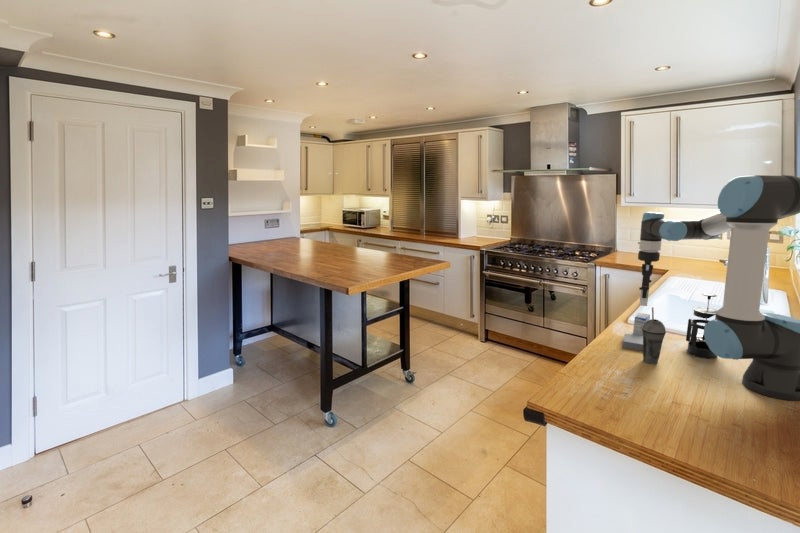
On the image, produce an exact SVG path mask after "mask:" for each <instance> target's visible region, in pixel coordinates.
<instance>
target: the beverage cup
mask: <svg viewBox="0 0 800 533" xmlns="http://www.w3.org/2000/svg"><path fill="white" fill-rule="evenodd" d="M654 317H655V316H654V307H651V318H650V320H648V321H647V322H646V323H645V324H644V325H643V328H642V333H643V351H642V361H643V362H644V363H646V364H650V365H657V364H658V362H659V359H660V354H661V350H662V347H663V342H664V339H665V335H666V333H667V332H666V331H667V330H666V326H665V324H664V323H663V322H662V321H661V320H659V319H656V318H654Z"/></svg>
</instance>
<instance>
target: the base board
mask: <svg viewBox="0 0 800 533" xmlns="http://www.w3.org/2000/svg"><path fill="white" fill-rule="evenodd" d="M622 348H623V349H629V350H634V351H642V352H643V336H637V335H633V334H631V333H624V337H623V340H622Z"/></svg>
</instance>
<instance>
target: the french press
mask: <svg viewBox="0 0 800 533" xmlns="http://www.w3.org/2000/svg"><path fill="white" fill-rule="evenodd" d="M702 296H704V297H707V306H706V307H705V306H696V307H693V308H692V310H693V315H694V316H695V317H697V319H695V318H688V321H687V328H686V329H687V330H686V336H685V340H686V342H688V343H687V349H686V353H687V354H689V355H691V356H693V357H696V358H702V359H709V360H710V359H717V357H718V356H717V355H715V354H714V353H713V352H712V351H711V350H710V348H709V346H708V345H707V343H706V341H705V337H704V333H698V332H699V329H700V330H703V331H704V328H705V325H706V324H708V322H709V321H710V320H708V319H710V318H712V317H715V316H716V311H717V310H718V309H717V308H713V307H709V306H710V300H711V298H715V297H717V294H715V293H706V292H705V293H703V294H702ZM701 324H704V325H701Z"/></svg>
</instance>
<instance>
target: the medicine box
mask: <svg viewBox="0 0 800 533" xmlns="http://www.w3.org/2000/svg"><path fill="white" fill-rule="evenodd" d="M633 320H634V322H633V329H632V330H633V331H632V335H637V336H643V333H642V328H643V325H644V324H645V323H646V322H647V321H648V320H651V314H648V313H645V312H638V313H637V314H636V316H634V319H633Z"/></svg>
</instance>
